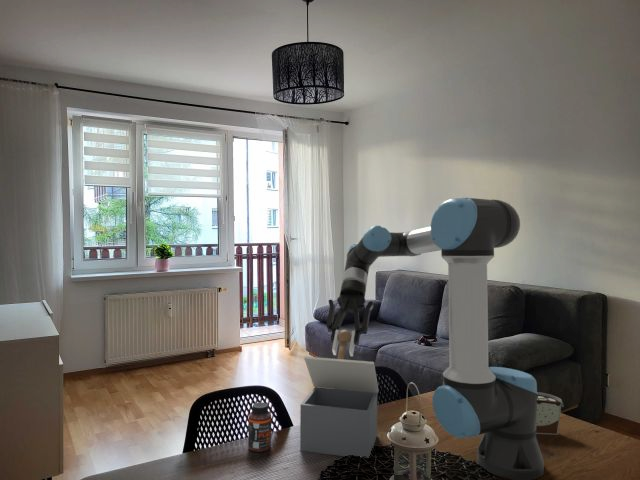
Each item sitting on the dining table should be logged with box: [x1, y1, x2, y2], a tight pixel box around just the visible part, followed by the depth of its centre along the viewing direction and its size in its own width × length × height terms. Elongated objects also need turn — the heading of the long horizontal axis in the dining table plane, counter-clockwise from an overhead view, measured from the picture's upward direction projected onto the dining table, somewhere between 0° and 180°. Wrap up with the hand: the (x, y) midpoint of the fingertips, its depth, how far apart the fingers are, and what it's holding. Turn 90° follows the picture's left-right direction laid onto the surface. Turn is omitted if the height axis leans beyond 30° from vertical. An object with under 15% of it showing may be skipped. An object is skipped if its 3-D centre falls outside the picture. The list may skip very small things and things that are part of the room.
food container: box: [536, 391, 564, 436], centre depth 134 cm, size 12×6×10 cm, turn 84°
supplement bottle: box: [247, 401, 272, 453], centre depth 122 cm, size 6×6×11 cm
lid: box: [303, 329, 379, 394], centre depth 131 cm, size 19×15×11 cm
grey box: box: [299, 387, 378, 457], centre depth 125 cm, size 18×14×12 cm
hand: (342, 353), depth 127 cm, fingers closed on lid, 4 cm apart
